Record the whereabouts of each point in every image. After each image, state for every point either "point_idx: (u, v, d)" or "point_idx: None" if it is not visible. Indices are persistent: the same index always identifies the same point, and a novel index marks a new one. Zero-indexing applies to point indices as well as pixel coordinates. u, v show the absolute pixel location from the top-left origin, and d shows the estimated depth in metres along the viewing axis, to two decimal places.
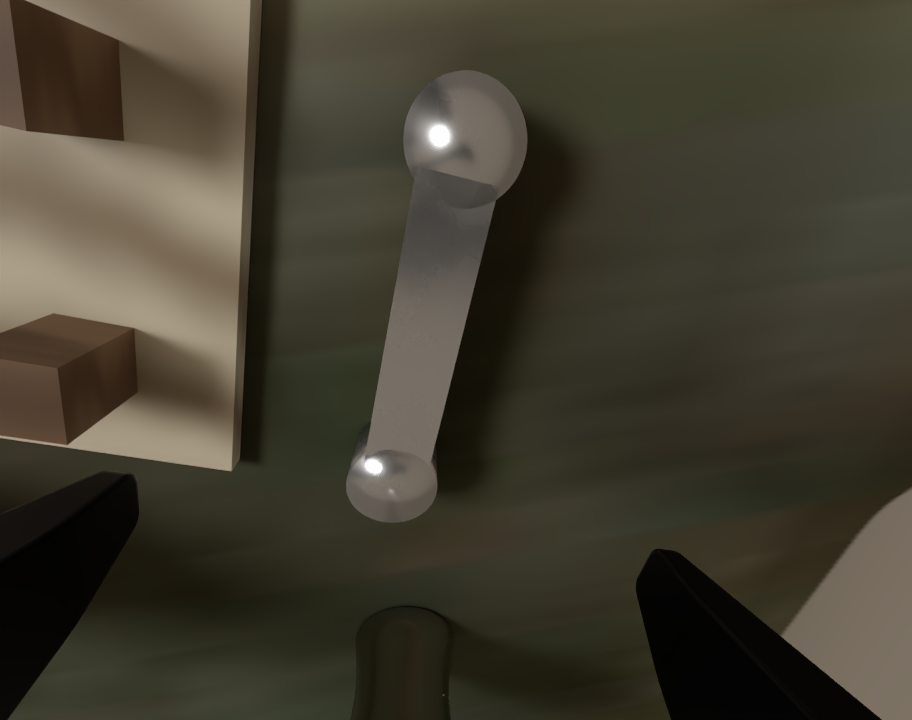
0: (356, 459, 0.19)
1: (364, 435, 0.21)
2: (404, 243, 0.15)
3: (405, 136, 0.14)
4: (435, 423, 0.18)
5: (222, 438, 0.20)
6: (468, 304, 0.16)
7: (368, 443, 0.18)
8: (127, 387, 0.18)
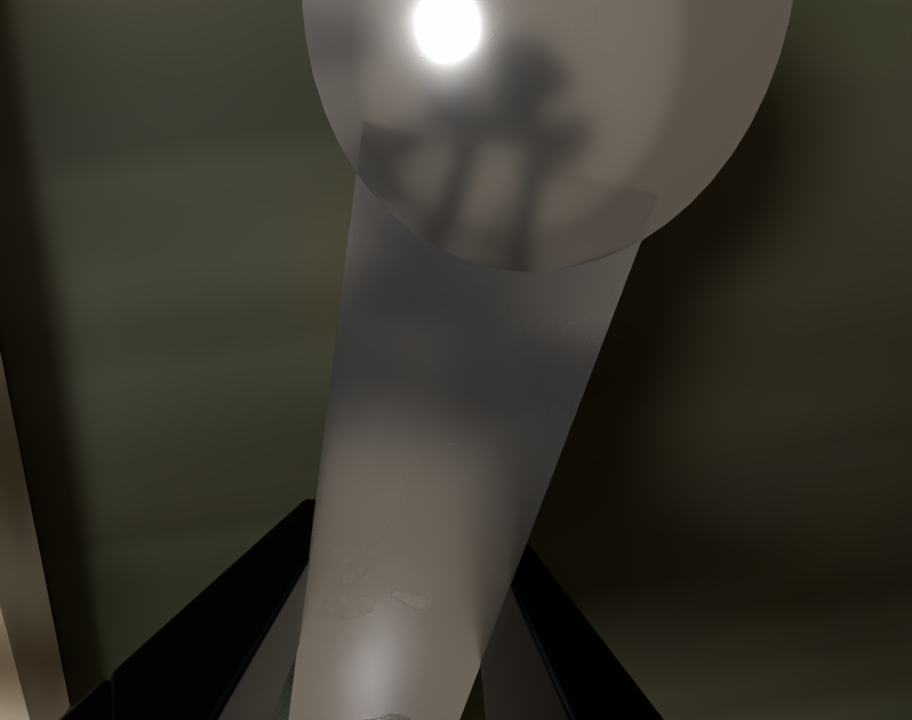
0: None
1: None
2: (335, 376, 0.05)
3: None
4: None
5: (4, 706, 0.10)
6: (528, 525, 0.06)
7: None
8: None
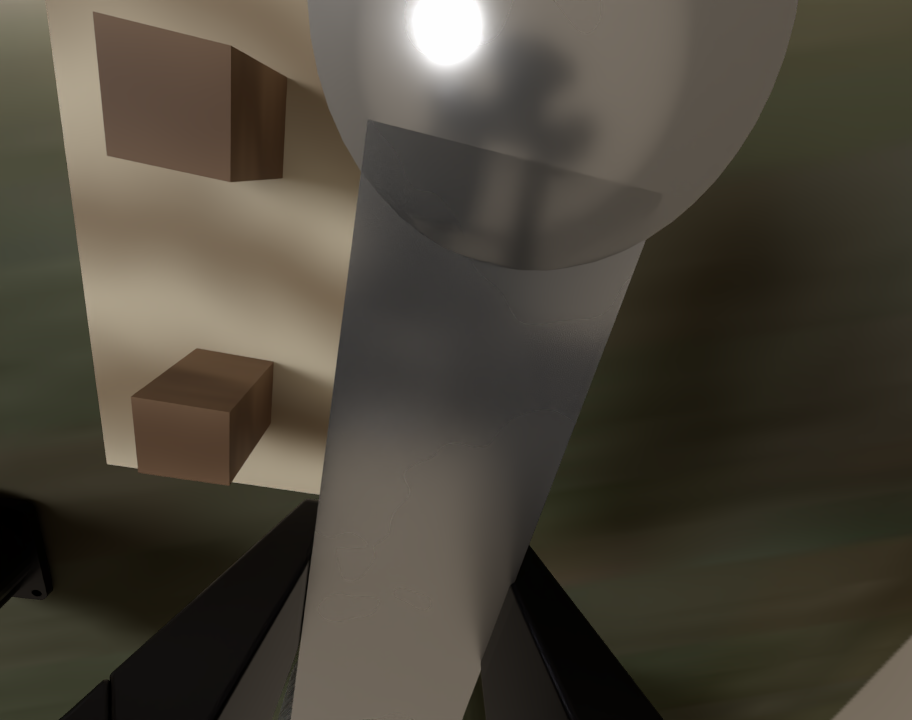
0: None
1: None
2: (339, 376, 0.05)
3: None
4: None
5: None
6: (531, 525, 0.06)
7: None
8: (265, 420, 0.18)
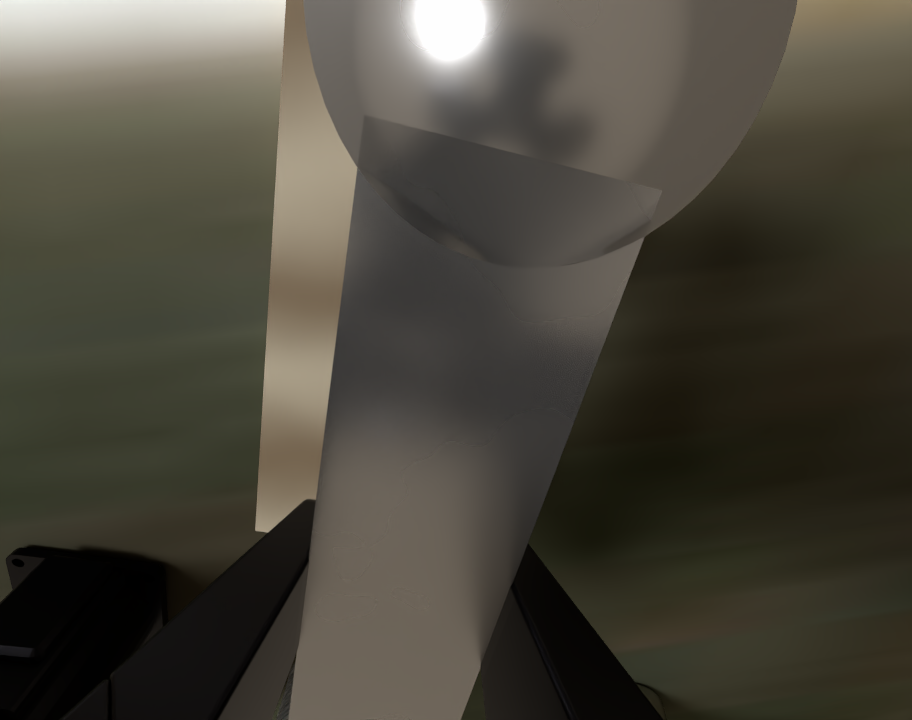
0: None
1: None
2: (336, 374, 0.05)
3: None
4: None
5: None
6: (530, 524, 0.06)
7: None
8: None
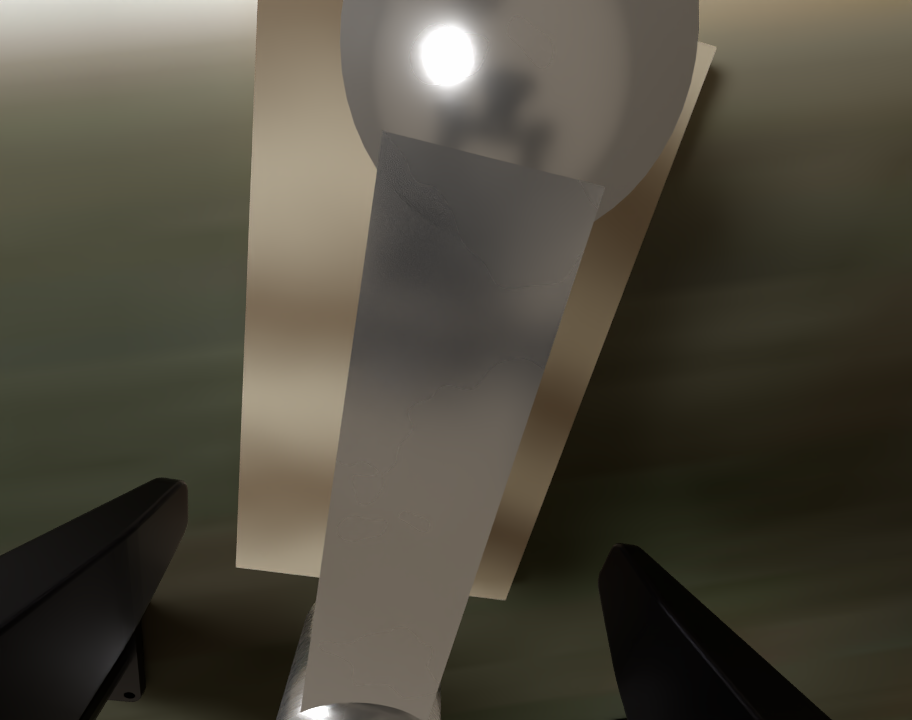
0: (287, 707, 0.10)
1: (310, 632, 0.11)
2: (357, 329, 0.06)
3: (346, 42, 0.05)
4: (437, 662, 0.09)
5: (506, 568, 0.18)
6: (511, 457, 0.07)
7: (305, 695, 0.09)
8: None
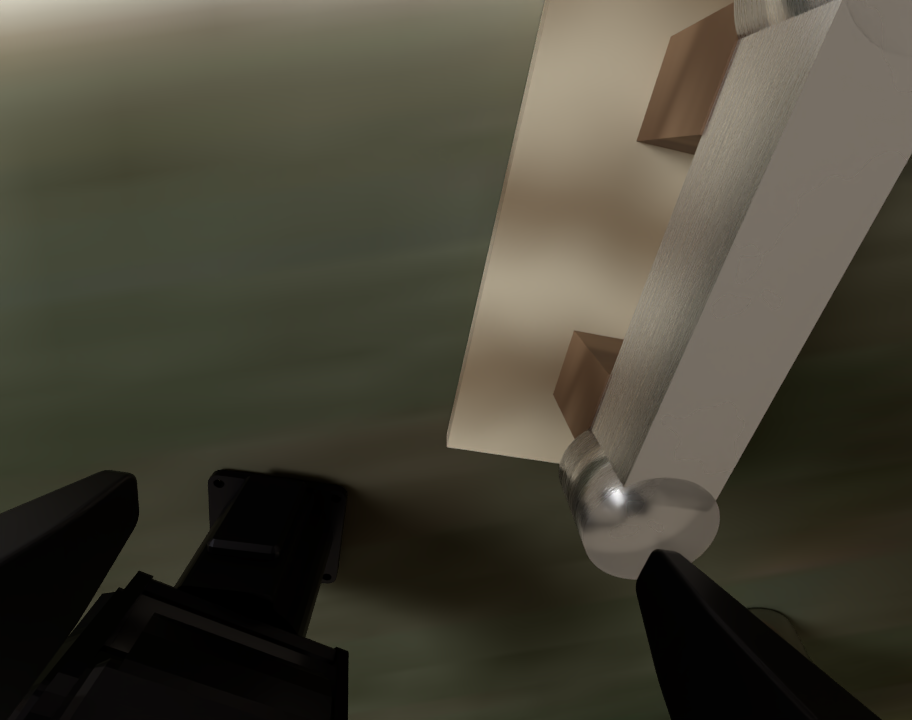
0: (602, 491, 0.13)
1: (588, 452, 0.14)
2: (786, 128, 0.09)
3: None
4: (744, 437, 0.12)
5: None
6: (859, 240, 0.10)
7: (634, 468, 0.12)
8: None
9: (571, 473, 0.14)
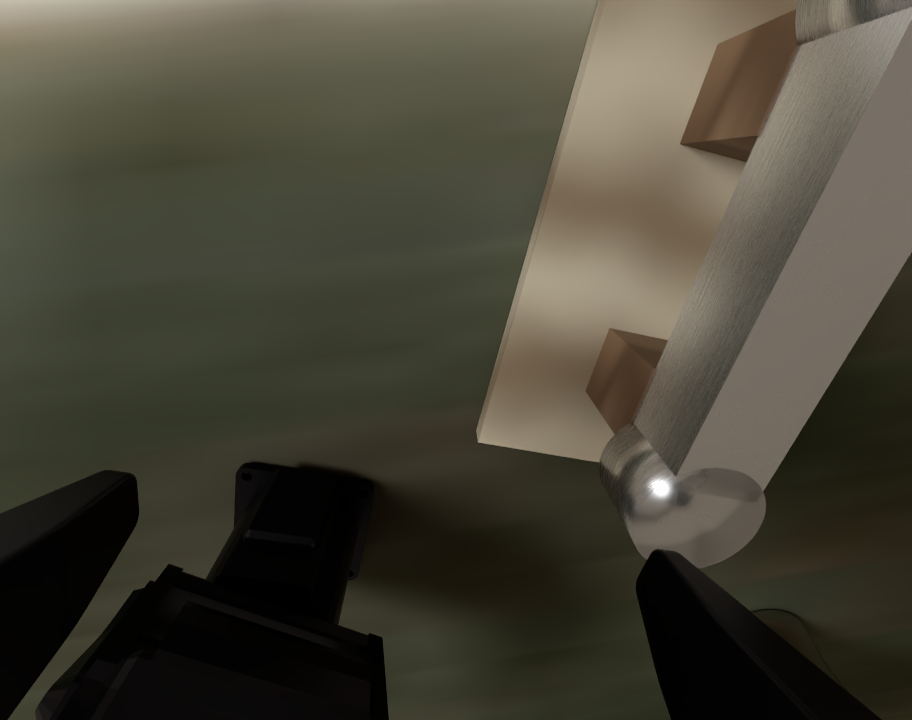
0: (653, 480, 0.13)
1: (633, 445, 0.14)
2: (857, 127, 0.09)
3: None
4: (795, 428, 0.12)
5: None
6: None
7: (687, 458, 0.12)
8: None
9: (615, 465, 0.15)
